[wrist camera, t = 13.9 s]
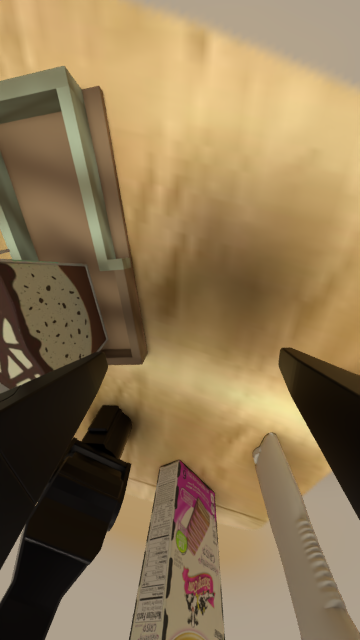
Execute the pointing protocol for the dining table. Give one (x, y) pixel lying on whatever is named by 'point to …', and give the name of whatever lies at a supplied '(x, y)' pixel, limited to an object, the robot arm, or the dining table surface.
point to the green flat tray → (68, 195)
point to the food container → (45, 318)
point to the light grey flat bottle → (300, 550)
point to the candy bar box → (180, 563)
